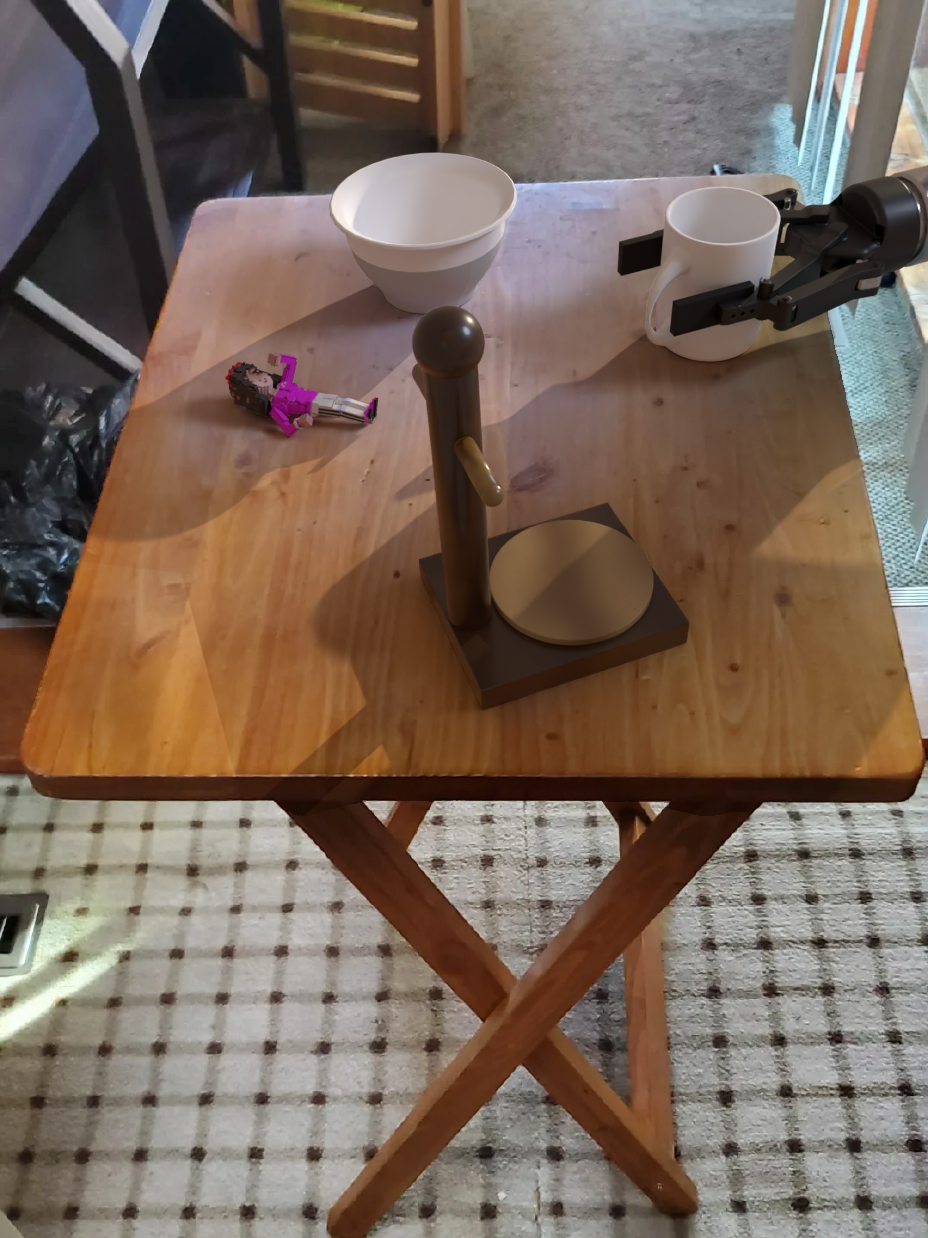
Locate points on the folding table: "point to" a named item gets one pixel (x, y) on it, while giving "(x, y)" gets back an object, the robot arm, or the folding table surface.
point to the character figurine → (290, 396)
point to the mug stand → (523, 552)
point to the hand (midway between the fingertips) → (646, 288)
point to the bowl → (425, 225)
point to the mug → (712, 265)
